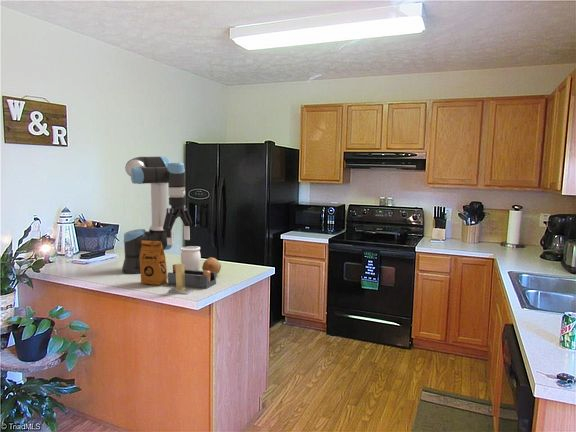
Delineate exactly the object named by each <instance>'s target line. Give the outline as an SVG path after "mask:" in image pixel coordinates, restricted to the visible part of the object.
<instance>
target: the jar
mask: <svg viewBox="0 0 576 432" xmlns="http://www.w3.org/2000/svg"><path fill="white" fill-rule="evenodd" d="M200 250H201V246H197V245H194V246H193V245H190V246H189V245H188V246H182V247H181V248H180V251H181V253H180V262H181V263H180V264H184V269H185V270H197V271H200V267H201V261H202V259H201V258H202V256H201V251H200Z"/></svg>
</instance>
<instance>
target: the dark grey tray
mask: <svg viewBox="0 0 576 432" xmlns="http://www.w3.org/2000/svg"><path fill="white" fill-rule="evenodd" d="M177 264H178V263H175V264H174V263H173V264H172V272H167V285H168V286H174V287H176V268H175V265H177ZM216 284H217V275H216V272H210V270H204V271H203V270H199V271H197V270H185V288H197V289H206V290H207V289H208V288H211V287H213V286H214V285H216Z"/></svg>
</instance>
